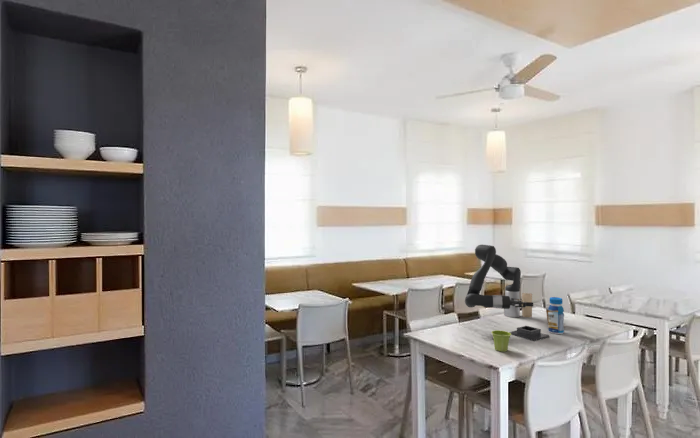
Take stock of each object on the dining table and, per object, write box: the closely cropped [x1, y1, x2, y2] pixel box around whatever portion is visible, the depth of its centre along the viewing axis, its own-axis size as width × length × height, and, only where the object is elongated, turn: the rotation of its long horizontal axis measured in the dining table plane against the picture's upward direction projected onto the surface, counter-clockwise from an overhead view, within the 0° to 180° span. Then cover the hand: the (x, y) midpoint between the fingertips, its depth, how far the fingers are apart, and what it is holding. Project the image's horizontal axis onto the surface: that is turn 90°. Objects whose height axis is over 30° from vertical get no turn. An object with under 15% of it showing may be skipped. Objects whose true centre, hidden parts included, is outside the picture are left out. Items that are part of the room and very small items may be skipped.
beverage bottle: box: [547, 296, 565, 335], centre depth 235 cm, size 8×8×20 cm
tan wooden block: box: [521, 292, 533, 318], centre depth 231 cm, size 5×5×13 cm
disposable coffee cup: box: [544, 304, 551, 322], centre depth 250 cm, size 10×10×12 cm
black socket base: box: [509, 325, 550, 342], centre depth 229 cm, size 16×14×4 cm
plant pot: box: [491, 329, 512, 353], centre depth 205 cm, size 9×9×9 cm
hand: (531, 303), depth 230 cm, fingers closed on tan wooden block, 5 cm apart
